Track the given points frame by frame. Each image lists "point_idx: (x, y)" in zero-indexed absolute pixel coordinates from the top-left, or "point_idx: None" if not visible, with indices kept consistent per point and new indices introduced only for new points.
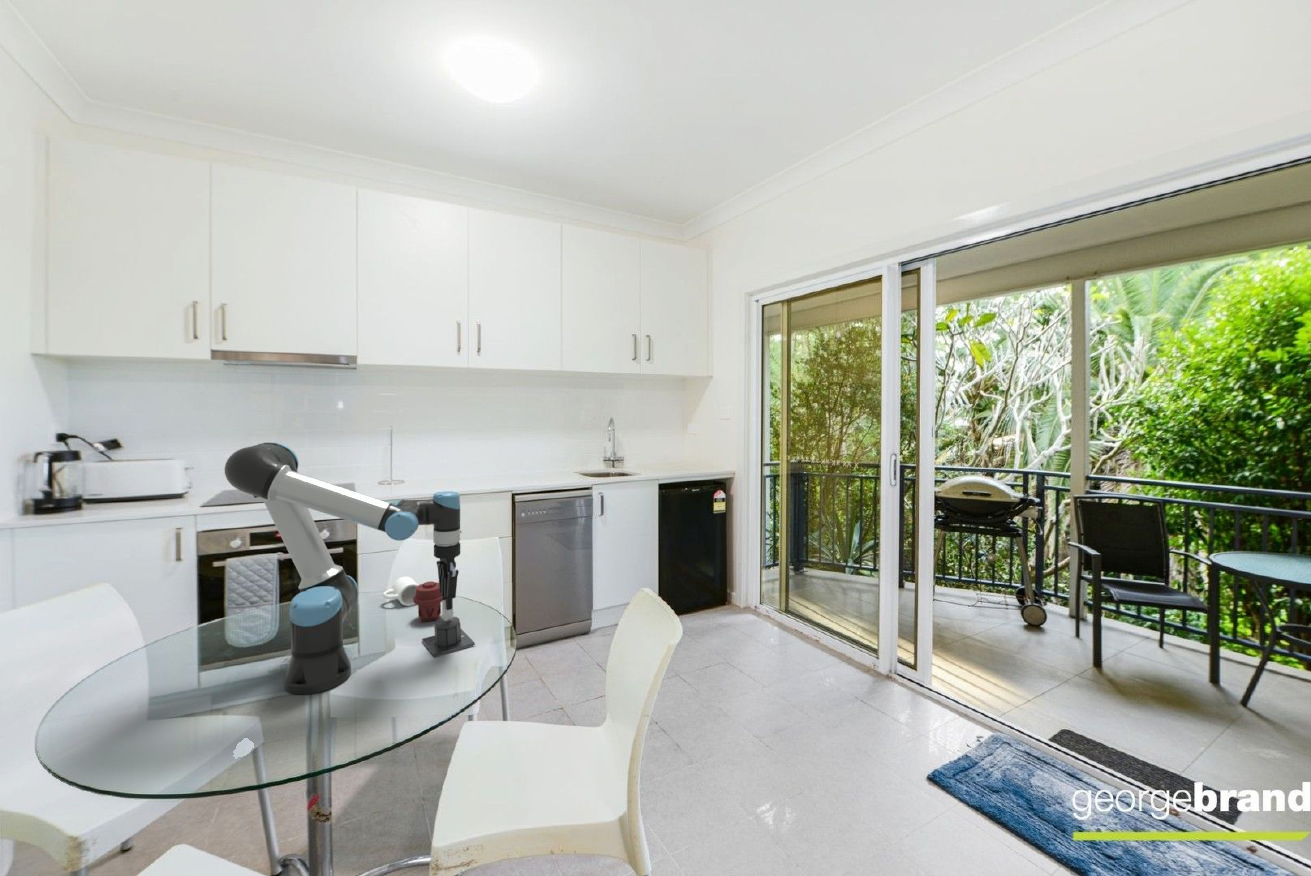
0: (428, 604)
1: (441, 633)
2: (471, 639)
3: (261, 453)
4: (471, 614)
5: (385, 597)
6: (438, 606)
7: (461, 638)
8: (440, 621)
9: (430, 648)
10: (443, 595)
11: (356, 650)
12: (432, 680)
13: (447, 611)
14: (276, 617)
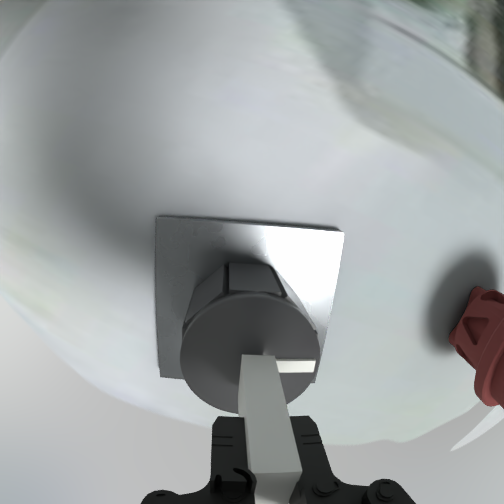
0: (492, 338)
1: (205, 297)
2: None
3: None
4: (395, 421)
5: None
6: (473, 363)
7: None
8: (284, 337)
9: (221, 225)
10: (301, 495)
11: (417, 32)
12: (15, 157)
13: (243, 408)
14: None
